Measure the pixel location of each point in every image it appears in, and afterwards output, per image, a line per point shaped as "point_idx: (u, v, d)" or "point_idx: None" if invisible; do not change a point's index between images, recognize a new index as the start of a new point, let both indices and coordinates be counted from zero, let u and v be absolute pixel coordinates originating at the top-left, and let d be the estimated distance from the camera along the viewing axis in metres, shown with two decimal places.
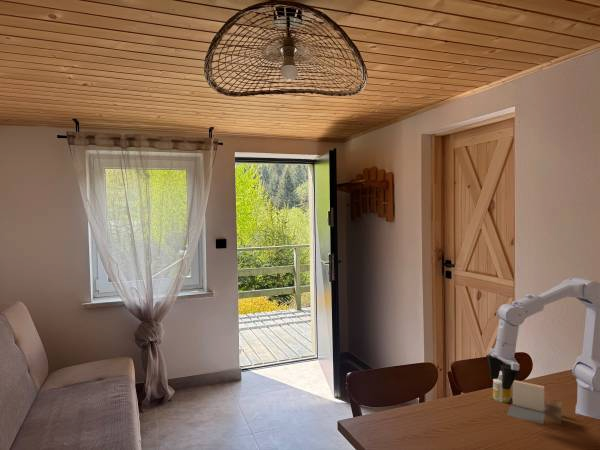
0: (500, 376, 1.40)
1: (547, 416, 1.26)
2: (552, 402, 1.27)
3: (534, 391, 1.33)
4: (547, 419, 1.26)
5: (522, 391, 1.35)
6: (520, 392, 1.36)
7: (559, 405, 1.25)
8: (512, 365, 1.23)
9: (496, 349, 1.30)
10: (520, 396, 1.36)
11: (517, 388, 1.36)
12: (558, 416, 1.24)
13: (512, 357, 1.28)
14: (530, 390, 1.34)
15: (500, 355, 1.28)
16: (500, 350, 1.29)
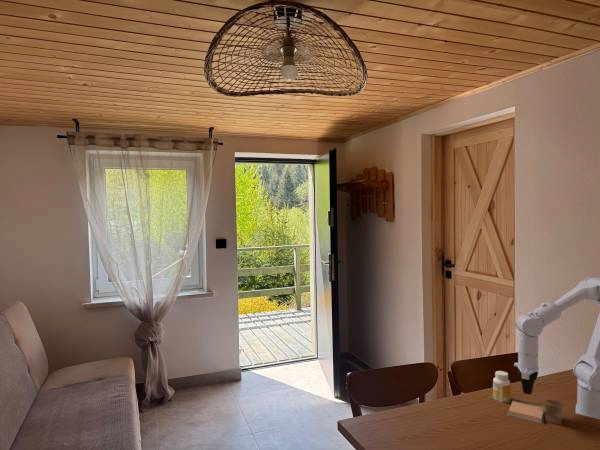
0: (500, 376, 1.40)
1: (547, 416, 1.26)
2: (552, 402, 1.27)
3: None
4: (547, 419, 1.26)
5: None
6: None
7: (559, 405, 1.25)
8: (521, 374, 1.28)
9: (518, 359, 1.35)
10: None
11: None
12: (558, 416, 1.24)
13: (531, 368, 1.31)
14: None
15: (519, 364, 1.33)
16: (519, 360, 1.33)
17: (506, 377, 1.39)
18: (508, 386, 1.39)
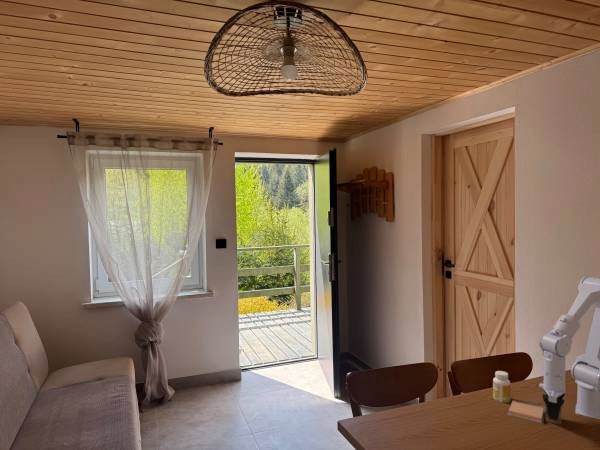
0: (500, 376, 1.40)
1: (547, 416, 1.26)
2: None
3: None
4: (547, 419, 1.26)
5: None
6: None
7: None
8: (548, 397, 1.21)
9: None
10: None
11: None
12: (558, 416, 1.24)
13: (558, 389, 1.24)
14: None
15: (545, 386, 1.26)
16: (545, 381, 1.26)
17: (506, 377, 1.39)
18: (508, 386, 1.39)
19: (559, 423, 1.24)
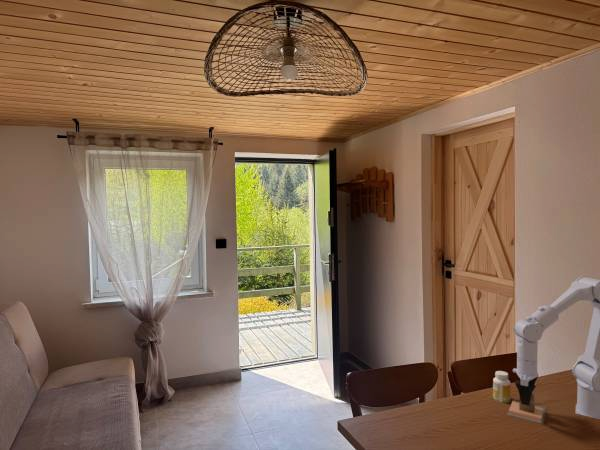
0: (500, 376, 1.40)
1: None
2: None
3: None
4: (521, 405, 1.31)
5: None
6: None
7: (532, 392, 1.30)
8: None
9: (517, 364, 1.33)
10: None
11: None
12: (531, 403, 1.29)
13: (530, 374, 1.28)
14: None
15: (518, 370, 1.31)
16: (518, 365, 1.31)
17: (506, 377, 1.39)
18: (508, 386, 1.39)
19: (532, 409, 1.29)
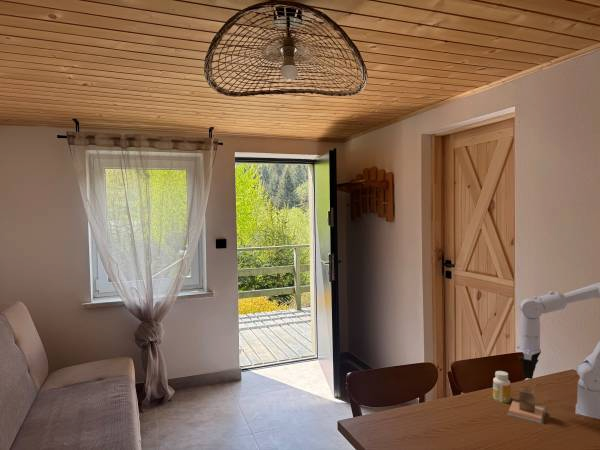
0: (500, 376, 1.40)
1: (521, 403, 1.31)
2: (526, 389, 1.32)
3: None
4: (521, 405, 1.31)
5: None
6: None
7: (532, 392, 1.30)
8: (524, 355, 1.33)
9: None
10: None
11: None
12: (531, 403, 1.29)
13: (533, 349, 1.35)
14: None
15: (522, 346, 1.38)
16: (521, 342, 1.38)
17: (506, 377, 1.39)
18: (508, 386, 1.39)
19: (532, 409, 1.29)
